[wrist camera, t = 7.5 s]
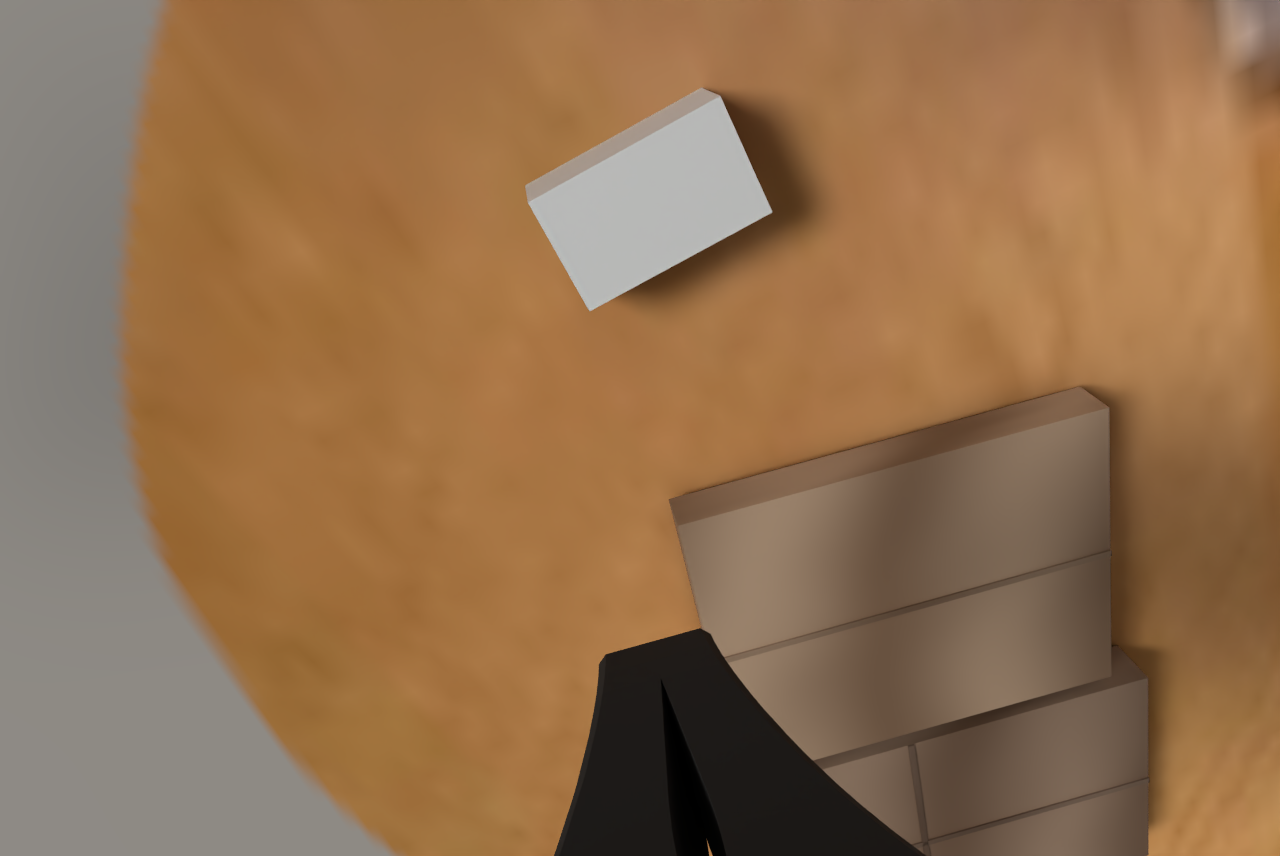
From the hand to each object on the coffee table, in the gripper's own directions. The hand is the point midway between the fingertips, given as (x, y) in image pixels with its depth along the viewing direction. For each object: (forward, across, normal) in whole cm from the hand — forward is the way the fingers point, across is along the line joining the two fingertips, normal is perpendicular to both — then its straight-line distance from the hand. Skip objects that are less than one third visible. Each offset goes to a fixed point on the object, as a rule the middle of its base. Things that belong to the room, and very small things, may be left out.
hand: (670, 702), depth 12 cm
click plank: (+10, -6, +7) cm, 14 cm away
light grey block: (+11, -2, -4) cm, 12 cm away
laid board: (+10, -7, +15) cm, 19 cm away
